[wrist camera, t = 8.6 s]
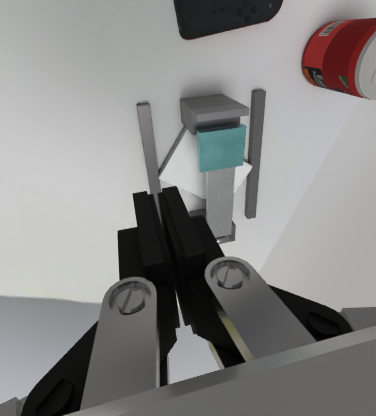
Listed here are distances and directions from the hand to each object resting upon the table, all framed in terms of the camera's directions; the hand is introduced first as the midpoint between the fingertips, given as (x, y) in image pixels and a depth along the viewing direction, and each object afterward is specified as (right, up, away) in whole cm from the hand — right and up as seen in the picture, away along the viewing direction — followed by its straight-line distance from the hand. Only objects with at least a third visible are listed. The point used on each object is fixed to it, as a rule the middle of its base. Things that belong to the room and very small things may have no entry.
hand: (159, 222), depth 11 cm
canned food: (+20, +22, +28) cm, 41 cm away
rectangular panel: (+5, +3, +27) cm, 27 cm away
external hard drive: (+4, +7, +32) cm, 33 cm away
